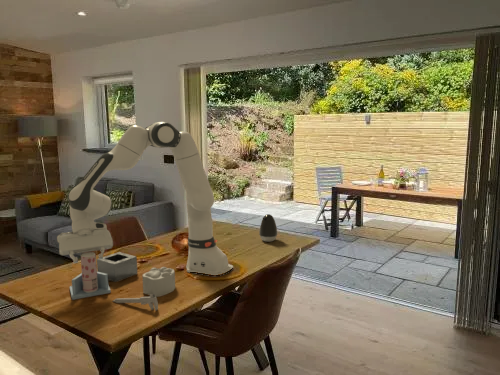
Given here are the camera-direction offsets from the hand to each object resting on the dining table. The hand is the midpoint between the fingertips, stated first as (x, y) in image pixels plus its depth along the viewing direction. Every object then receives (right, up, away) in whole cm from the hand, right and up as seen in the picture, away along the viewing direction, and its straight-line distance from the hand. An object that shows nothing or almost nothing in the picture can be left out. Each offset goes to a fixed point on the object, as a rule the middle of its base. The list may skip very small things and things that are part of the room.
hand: (88, 260), depth 169 cm
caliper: (+21, -16, -9) cm, 27 cm away
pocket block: (+5, -10, +22) cm, 25 cm away
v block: (-1, -13, +5) cm, 14 cm away
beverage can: (0, -13, +3) cm, 13 cm away
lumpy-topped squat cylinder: (+27, -13, +6) cm, 31 cm away
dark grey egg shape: (+74, -1, +74) cm, 104 cm away
